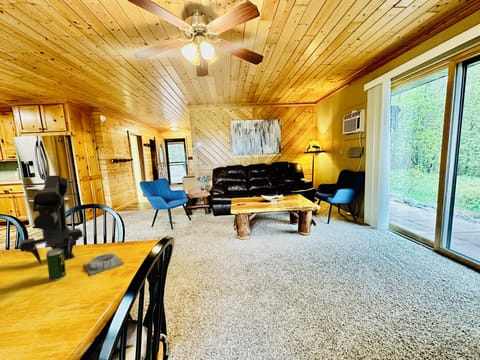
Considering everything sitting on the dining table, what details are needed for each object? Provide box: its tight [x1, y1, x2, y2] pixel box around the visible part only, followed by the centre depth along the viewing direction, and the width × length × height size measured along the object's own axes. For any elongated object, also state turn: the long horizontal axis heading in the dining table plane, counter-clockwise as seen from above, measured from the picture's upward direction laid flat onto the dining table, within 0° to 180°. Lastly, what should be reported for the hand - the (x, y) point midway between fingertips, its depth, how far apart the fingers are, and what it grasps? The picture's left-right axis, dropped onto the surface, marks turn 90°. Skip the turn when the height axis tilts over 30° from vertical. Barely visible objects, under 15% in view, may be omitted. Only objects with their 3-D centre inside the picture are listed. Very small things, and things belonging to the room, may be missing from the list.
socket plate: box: [83, 256, 125, 277], centre depth 97 cm, size 13×13×1 cm
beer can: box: [45, 248, 67, 282], centre depth 86 cm, size 5×5×12 cm
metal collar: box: [88, 252, 118, 270], centre depth 97 cm, size 10×10×2 cm
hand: (55, 258), depth 86 cm, fingers open, 9 cm apart
